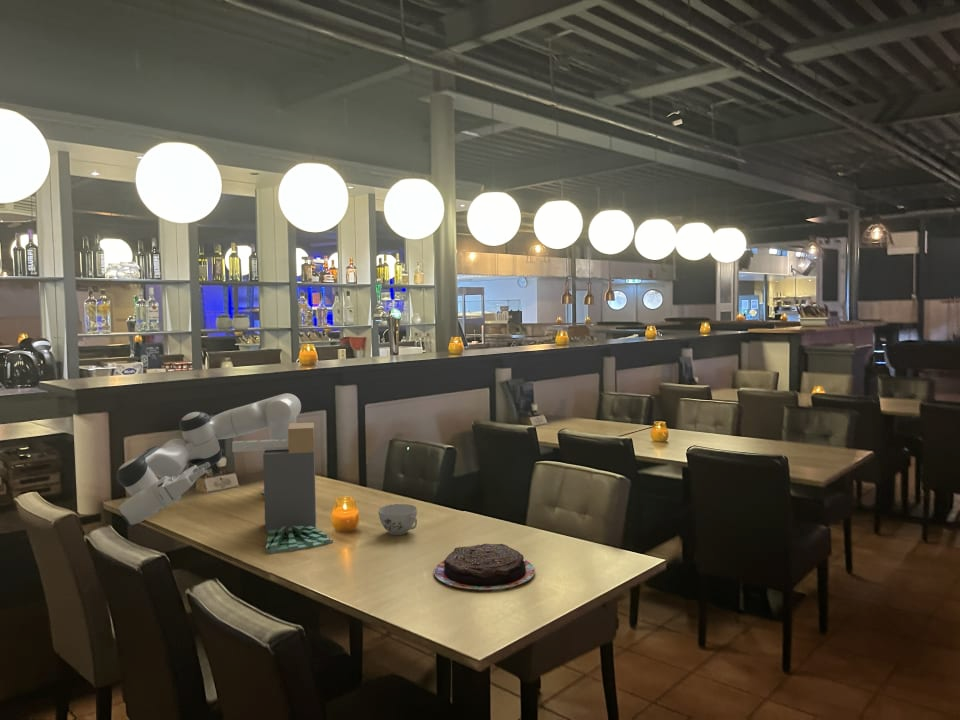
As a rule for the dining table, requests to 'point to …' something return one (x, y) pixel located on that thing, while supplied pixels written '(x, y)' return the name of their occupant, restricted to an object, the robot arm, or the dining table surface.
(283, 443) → the light grey bar
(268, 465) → the pedestal
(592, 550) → the dining table surface
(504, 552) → the chocolate cake
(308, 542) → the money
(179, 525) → the dining table surface
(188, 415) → the robot arm
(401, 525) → the teacup
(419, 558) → the dining table surface
